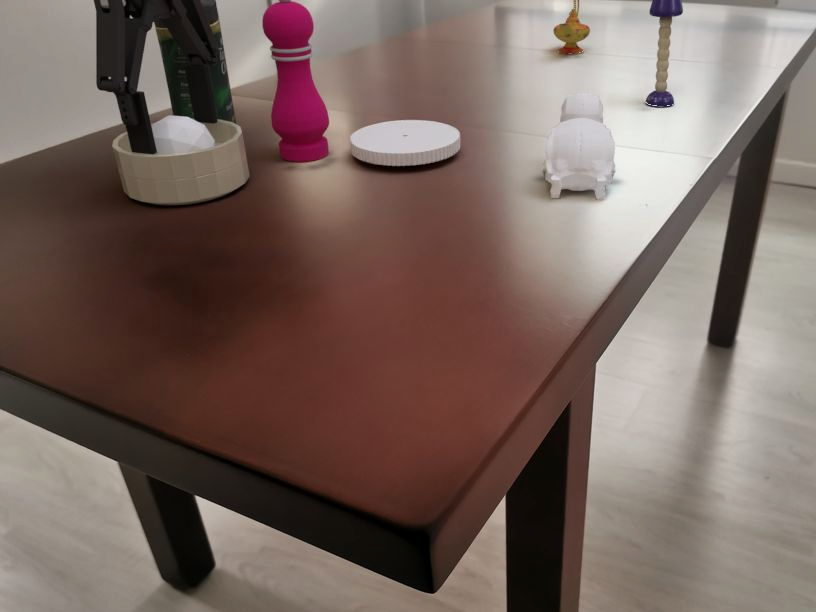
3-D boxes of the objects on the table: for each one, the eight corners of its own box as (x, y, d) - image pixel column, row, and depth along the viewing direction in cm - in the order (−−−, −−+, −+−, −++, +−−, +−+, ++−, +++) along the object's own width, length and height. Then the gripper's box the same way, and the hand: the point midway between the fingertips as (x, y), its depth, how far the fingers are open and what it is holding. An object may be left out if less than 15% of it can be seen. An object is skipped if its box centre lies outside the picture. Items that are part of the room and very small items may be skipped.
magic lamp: (542, 63, 145) (544, -3, 140) (559, 42, 160) (561, -18, 154) (580, 65, 144) (583, -2, 138) (594, 44, 158) (597, -17, 153)
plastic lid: (331, 166, 100) (329, 146, 99) (381, 134, 111) (380, 116, 110) (434, 179, 96) (433, 158, 94) (476, 144, 107) (476, 125, 105)
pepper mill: (295, 167, 100) (271, -6, 90) (266, 154, 105) (240, -13, 94) (343, 154, 104) (326, -14, 94) (313, 142, 109) (294, -20, 98)
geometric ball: (193, 196, 99) (206, 133, 99) (219, 189, 92) (232, 122, 93) (130, 177, 94) (143, 111, 94) (152, 168, 88) (166, 98, 88)
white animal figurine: (614, 221, 92) (615, 135, 100) (620, 162, 85) (621, 76, 94) (538, 218, 93) (546, 134, 101) (538, 160, 86) (547, 75, 95)
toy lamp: (652, 109, 119) (665, -14, 110) (634, 102, 123) (645, -18, 114) (679, 105, 121) (693, -16, 112) (661, 98, 124) (673, -20, 115)
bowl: (99, 201, 92) (84, 150, 89) (173, 161, 103) (163, 114, 100) (206, 214, 88) (195, 161, 85) (271, 171, 99) (264, 122, 96)
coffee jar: (234, 144, 109) (208, -5, 99) (174, 147, 108) (141, -2, 98) (241, 123, 117) (218, -16, 107) (185, 127, 116) (157, -13, 106)
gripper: (83, -68, 70) (139, 173, 82) (230, -87, 89) (258, 111, 101) (14, -70, 72) (78, 166, 84) (172, -88, 91) (207, 106, 103)
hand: (177, 136), depth 93 cm, fingers open, 11 cm apart
